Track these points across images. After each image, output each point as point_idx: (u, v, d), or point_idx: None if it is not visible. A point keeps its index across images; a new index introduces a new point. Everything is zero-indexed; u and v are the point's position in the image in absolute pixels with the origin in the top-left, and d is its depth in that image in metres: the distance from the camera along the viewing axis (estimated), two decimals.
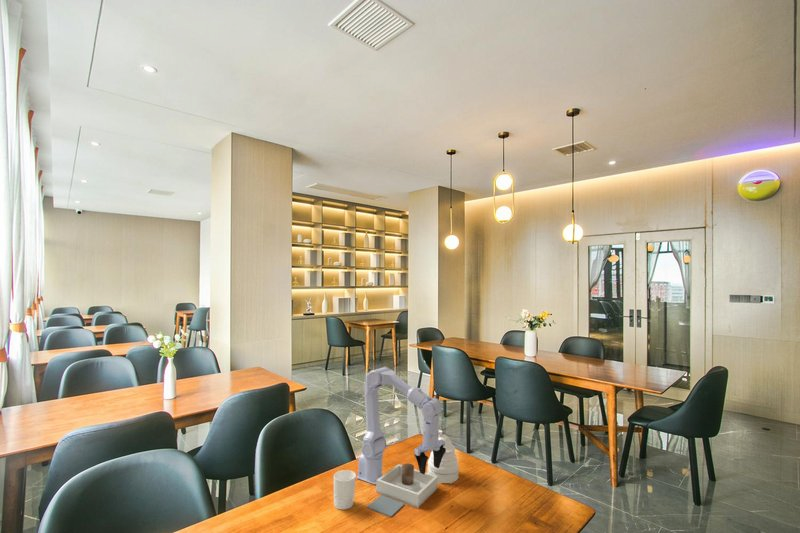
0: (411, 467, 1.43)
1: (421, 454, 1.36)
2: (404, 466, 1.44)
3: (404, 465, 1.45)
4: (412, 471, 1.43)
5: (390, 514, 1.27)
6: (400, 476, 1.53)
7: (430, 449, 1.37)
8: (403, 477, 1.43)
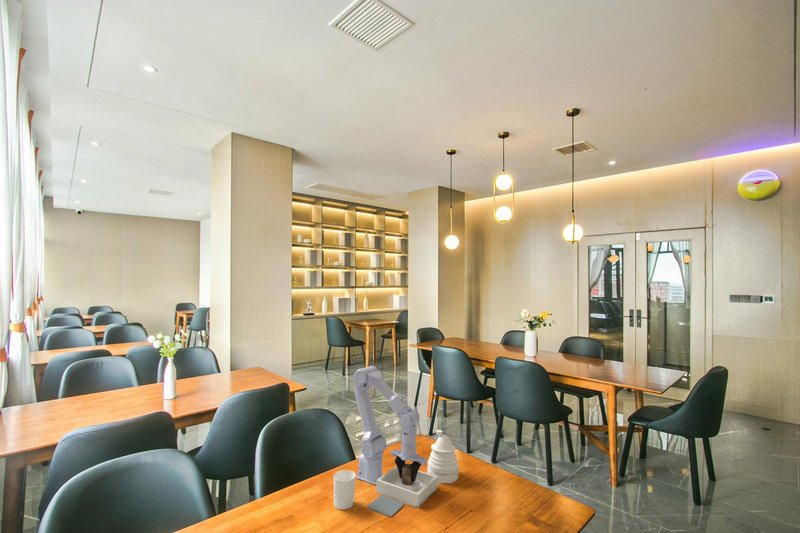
0: None
1: (397, 457, 1.46)
2: (404, 466, 1.44)
3: (404, 465, 1.45)
4: None
5: (390, 514, 1.27)
6: None
7: (399, 456, 1.44)
8: (403, 477, 1.43)
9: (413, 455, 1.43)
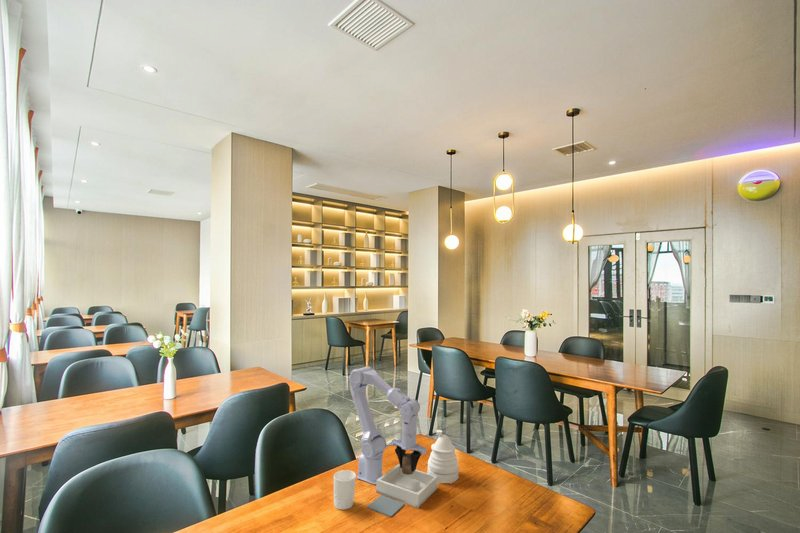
0: None
1: (398, 447, 1.46)
2: (404, 456, 1.44)
3: (404, 455, 1.45)
4: None
5: (390, 514, 1.27)
6: (400, 476, 1.53)
7: (400, 445, 1.44)
8: (403, 466, 1.43)
9: (413, 444, 1.43)
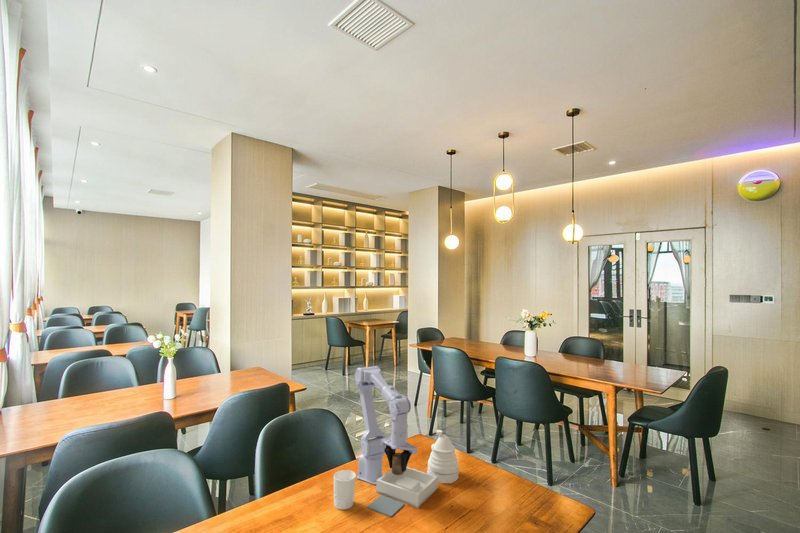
0: None
1: (387, 446, 1.40)
2: (394, 455, 1.39)
3: (394, 454, 1.40)
4: None
5: (390, 514, 1.27)
6: (400, 476, 1.53)
7: (389, 445, 1.38)
8: (393, 466, 1.38)
9: (403, 444, 1.37)
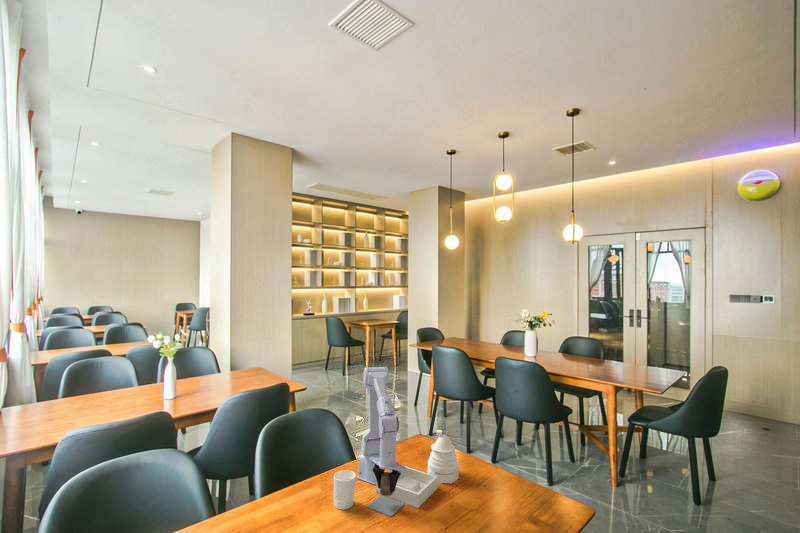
0: None
1: (376, 465, 1.35)
2: (383, 475, 1.33)
3: (383, 474, 1.34)
4: None
5: (390, 514, 1.27)
6: (400, 476, 1.53)
7: (378, 464, 1.33)
8: (381, 487, 1.32)
9: (392, 463, 1.32)
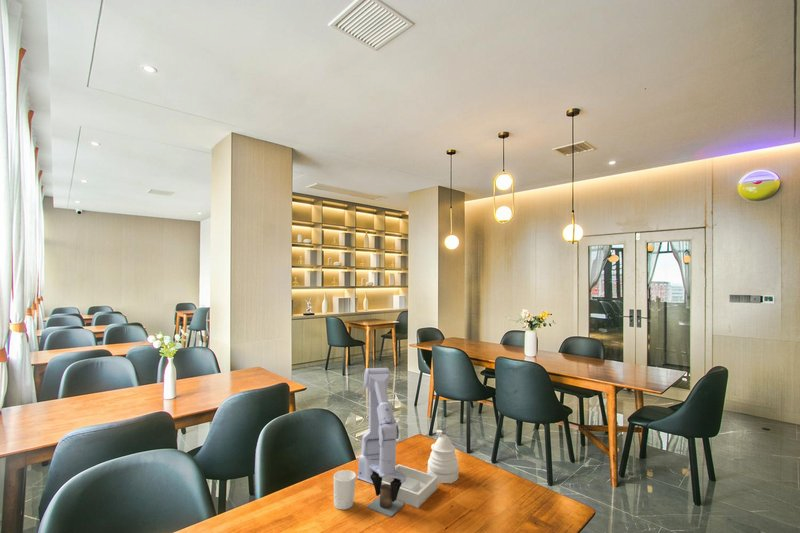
0: (390, 488, 1.32)
1: (374, 473, 1.35)
2: (382, 487, 1.33)
3: (382, 486, 1.34)
4: (391, 493, 1.32)
5: (390, 514, 1.27)
6: None
7: (377, 472, 1.33)
8: (380, 499, 1.32)
9: (392, 471, 1.31)
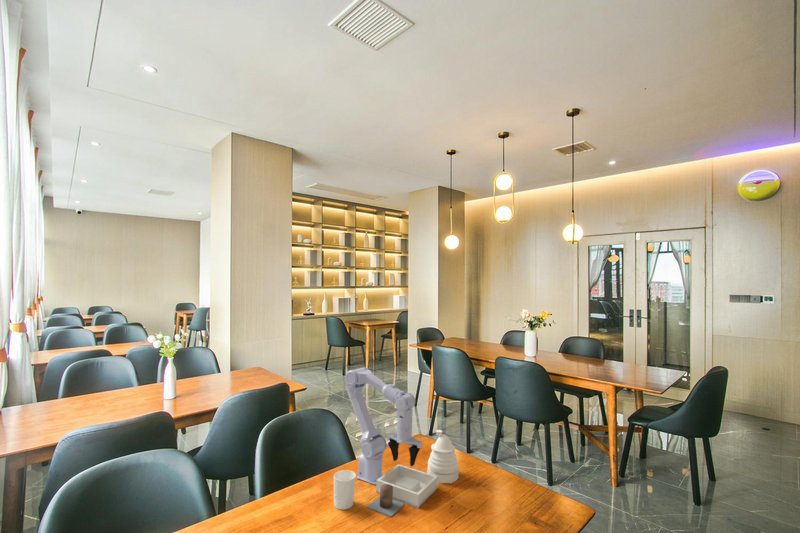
0: (390, 488, 1.32)
1: (391, 440, 1.47)
2: (382, 487, 1.33)
3: (382, 486, 1.34)
4: (391, 493, 1.32)
5: (390, 514, 1.27)
6: (400, 476, 1.53)
7: (396, 439, 1.44)
8: (380, 499, 1.32)
9: (409, 438, 1.43)
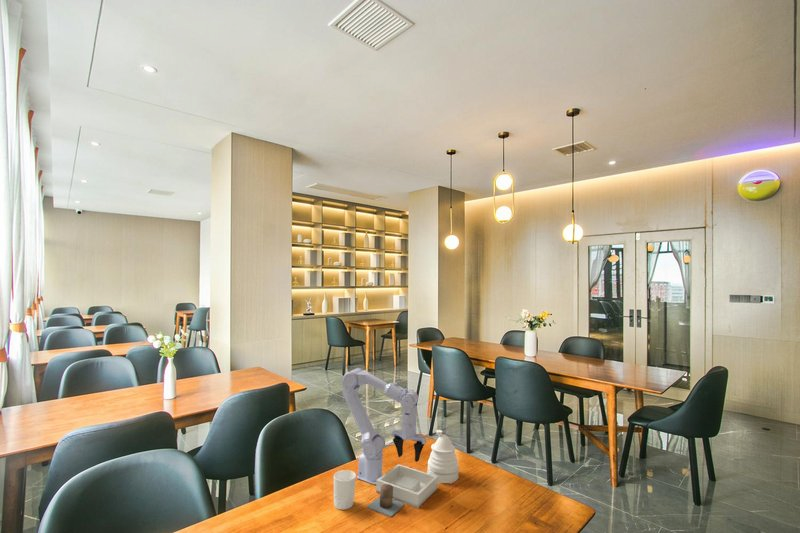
0: (390, 488, 1.32)
1: (396, 437, 1.50)
2: (382, 487, 1.33)
3: (383, 486, 1.34)
4: (391, 493, 1.32)
5: (390, 514, 1.27)
6: (400, 476, 1.53)
7: (400, 435, 1.48)
8: (380, 499, 1.32)
9: (413, 434, 1.46)
